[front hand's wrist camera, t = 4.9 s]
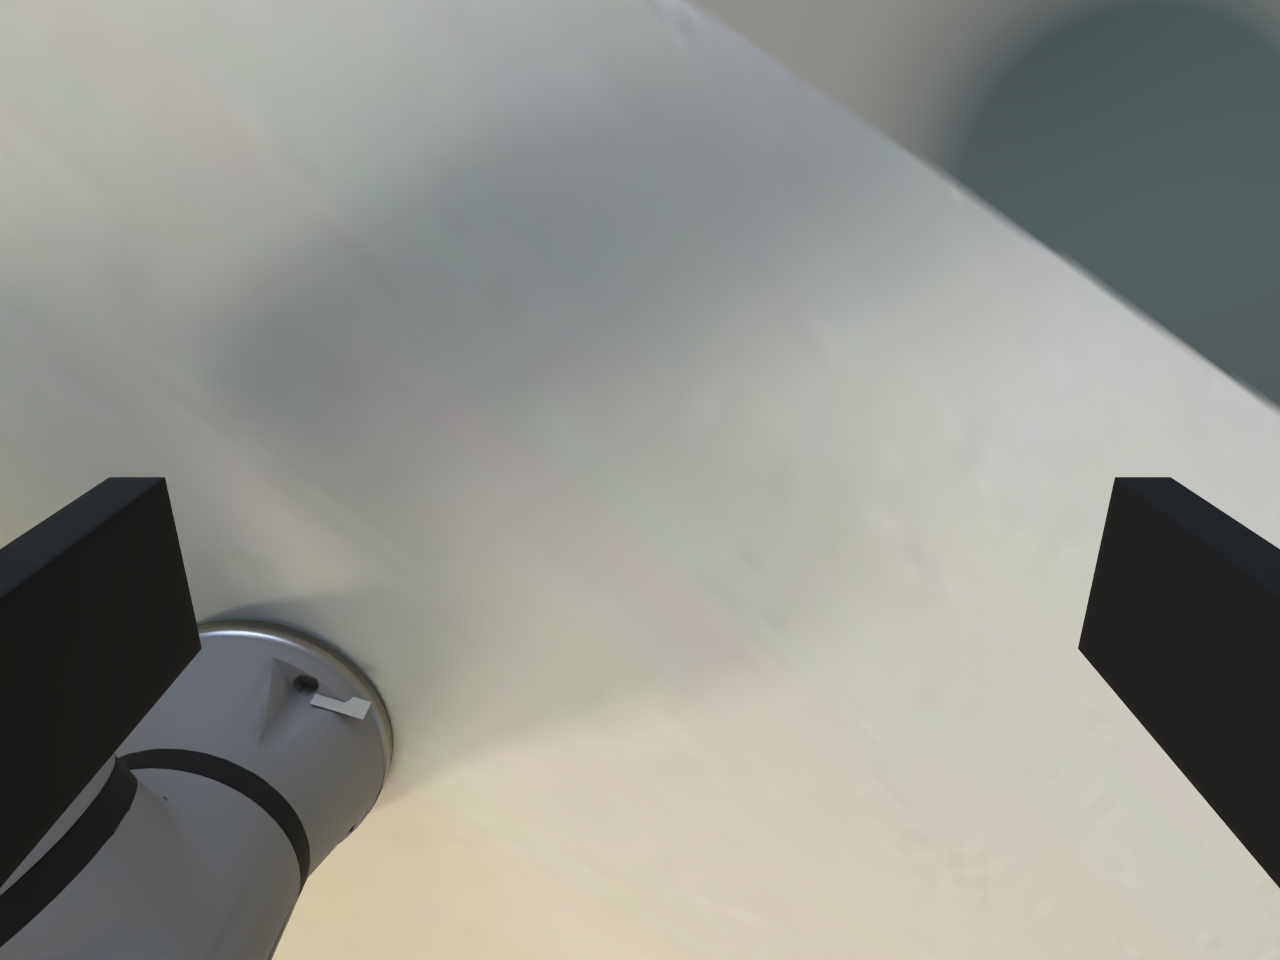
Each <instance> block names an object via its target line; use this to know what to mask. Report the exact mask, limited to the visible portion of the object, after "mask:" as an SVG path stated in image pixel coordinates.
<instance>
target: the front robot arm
mask: <svg viewBox="0 0 1280 960" xmlns="http://www.w3.org/2000/svg"><path fill="white" fill-rule="evenodd" d="M1078 649H1079V650H1080V651H1081V652H1082V654H1083V655H1084V656H1085V657H1086V658H1087V660H1088V661H1089V662H1090V663H1091V664H1092V666H1093V667H1094V668H1095V669H1096V670H1097V672H1098V673H1099V674H1100V675H1101V676H1102V677H1103V679H1104V680H1105V681H1106V682H1107V683H1108V685H1109V686H1110V687H1111V688H1112V689H1113V691H1114V692H1115V693H1116V694H1117V695H1118V696H1119V698H1120V699H1121V700H1122V701H1123V702H1124V704H1125V705H1126V706H1127V707H1128V708H1129V710H1130V711H1131V712H1132V713H1133V714H1134V715H1135V717H1136V718H1137V719H1138V720H1139V721H1140V723H1141V724H1142V725H1143V726H1144V727H1145V729H1146V730H1147V731H1148V732H1149V733H1150V734H1151V736H1152V737H1153V738H1154V739H1155V740H1156V742H1157V743H1158V744H1159V745H1160V746H1161V748H1162V749H1163V750H1164V751H1165V752H1166V754H1167V755H1168V756H1169V757H1170V758H1171V759H1172V761H1173V762H1174V763H1175V764H1176V765H1177V767H1178V768H1179V769H1180V770H1181V771H1182V773H1183V774H1184V775H1185V776H1186V777H1187V778H1188V780H1189V781H1190V782H1191V783H1192V784H1193V786H1194V787H1195V788H1196V789H1197V790H1198V792H1199V793H1200V794H1201V795H1202V796H1203V797H1204V799H1205V800H1206V801H1207V802H1208V803H1209V805H1210V806H1211V807H1212V808H1213V809H1214V811H1215V812H1216V813H1217V814H1218V815H1219V817H1220V818H1221V819H1222V820H1223V821H1224V822H1225V824H1226V825H1227V826H1228V827H1229V828H1230V830H1231V831H1232V832H1233V833H1234V834H1235V836H1236V837H1237V838H1238V839H1239V840H1240V841H1241V843H1242V844H1243V845H1244V846H1245V847H1246V849H1247V850H1248V851H1249V852H1250V853H1251V855H1252V856H1253V857H1254V858H1255V859H1256V860H1257V862H1258V863H1259V864H1260V865H1261V866H1262V868H1263V869H1264V870H1265V871H1266V872H1267V874H1268V875H1269V876H1270V877H1271V878H1272V879H1273V881H1274V882H1275V883H1276V884H1277V885H1278V887H1279V888H1280V549H1278V548H1277V547H1275V546H1274V545H1272V544H1271V543H1269V542H1268V541H1266V540H1265V539H1263V538H1262V537H1260V536H1259V535H1257V534H1256V533H1254V532H1253V531H1251V530H1250V529H1248V528H1247V527H1245V526H1244V525H1242V524H1241V523H1239V522H1237V521H1236V520H1234V519H1233V518H1231V517H1230V516H1228V515H1227V514H1225V513H1224V512H1222V511H1221V510H1219V509H1218V508H1216V507H1215V506H1213V505H1212V504H1210V503H1209V502H1207V501H1206V500H1204V499H1203V498H1201V497H1200V496H1198V495H1197V494H1195V493H1193V492H1192V491H1190V490H1189V489H1187V488H1186V487H1184V486H1183V485H1181V484H1180V483H1178V482H1177V481H1175V480H1174V479H1172V478H1171V477H1115V480H1114V485H1113V490H1112V494H1111V499H1110V503H1109V508H1108V513H1107V517H1106V522H1105V527H1104V531H1103V536H1102V540H1101V545H1100V550H1099V554H1098V559H1097V563H1096V568H1095V573H1094V577H1093V582H1092V587H1091V591H1090V596H1089V600H1088V605H1087V610H1086V614H1085V619H1084V624H1083V628H1082V633H1081V637H1080V642H1079V647H1078ZM391 757H392V734H391V728H390V723H389V720H388V717H387V713H386V711H385V709H384V706H383V704H382V702H381V700H380V698H379V697H378V695H377V693H376V691H375V690H374V689H373V687H372V686H371V684H370V683H369V682H368V680H367V679H366V678H365V677H364V676H363V674H362V673H361V672H360V671H359V670H358V669H357V668H356V667H355V666H354V665H353V664H352V663H351V662H349V661H348V660H347V659H346V658H345V657H343V656H342V655H341V654H339V653H338V652H337V651H335V650H334V649H332V648H331V647H329V646H327V645H326V644H324V643H322V642H321V641H319V640H317V639H315V638H313V637H311V636H308V635H306V634H304V633H301V632H299V631H296V630H293V629H290V628H287V627H284V626H280V625H276V624H271V623H266V622H259V621H249V620H225V621H217V622H210V623H206V624H201V625H198V626H197V624H196V619H195V614H194V610H193V605H192V600H191V596H190V591H189V587H188V582H187V577H186V573H185V568H184V563H183V559H182V554H181V550H180V545H179V540H178V536H177V531H176V527H175V522H174V517H173V513H172V508H171V503H170V499H169V494H168V490H167V485H166V480H165V477H109V478H108V479H106V480H105V481H103V482H102V483H100V484H99V485H97V486H96V487H94V488H93V489H91V490H90V491H88V492H87V493H85V494H83V495H82V496H80V497H79V498H77V499H76V500H74V501H73V502H71V503H70V504H68V505H67V506H65V507H64V508H62V509H61V510H59V511H58V512H56V513H55V514H53V515H52V516H50V517H49V518H47V519H46V520H44V521H43V522H41V523H39V524H38V525H36V526H35V527H33V528H32V529H30V530H29V531H27V532H26V533H24V534H23V535H21V536H20V537H18V538H17V539H15V540H14V541H12V542H11V543H9V544H8V545H6V546H5V547H3V548H2V549H0V960H272V957H273V955H274V953H275V950H276V948H277V946H278V943H279V941H280V939H281V937H282V934H283V932H284V930H285V927H286V925H287V923H288V921H289V918H290V916H291V914H292V911H293V909H294V907H295V904H296V902H297V900H298V898H299V895H300V893H301V891H302V889H303V886H304V884H305V882H306V880H307V878H308V877H309V876H310V874H311V873H312V872H313V871H314V870H315V869H316V868H317V867H318V866H319V865H320V863H321V862H322V861H323V860H324V859H325V858H326V857H327V856H328V855H329V854H330V852H331V851H332V850H333V849H334V848H335V847H336V846H337V845H338V844H339V843H340V842H342V841H343V840H344V839H346V838H347V837H348V836H349V835H350V834H351V833H352V832H353V831H354V830H355V829H356V828H357V827H358V826H359V825H360V824H361V822H362V821H363V820H364V818H365V817H366V816H367V814H368V813H369V812H370V810H371V809H372V807H373V806H374V804H375V802H376V800H377V798H378V796H379V794H380V792H381V789H382V786H383V784H384V781H385V779H386V776H387V773H388V770H389V767H390V763H391Z"/></svg>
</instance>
